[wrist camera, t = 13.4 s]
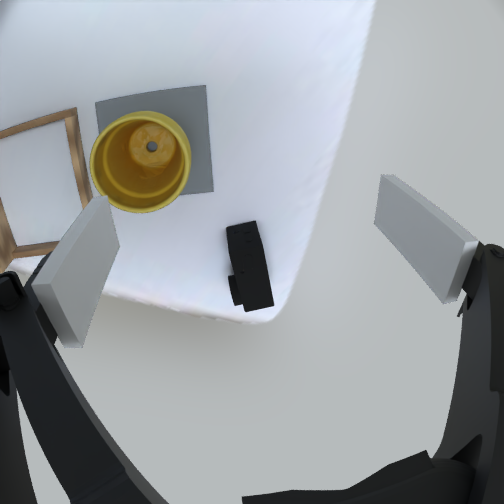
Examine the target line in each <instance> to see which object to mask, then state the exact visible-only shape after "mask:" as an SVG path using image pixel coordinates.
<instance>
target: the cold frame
mask: <svg viewBox="0 0 504 504" xmlns="http://www.w3.org/2000/svg"><path fill="white" fill-rule="evenodd" d="M61 119H65V125H66V131H67V137H68V143H69V148H70V154H71V159H72V164H73V169H74V173H75V178H76V182H77V187H78V191H79V195H80V199H81V203H82V207H83V209H84V208H85V207H86V206H87V204H88V203H89V202H90V201H91V199H92V198H93V196H92V192H91V188H90V183H89V179H88V174H87V169H86V164H85V159H84V153H83V148H82V142H81V136H80V130H79V123H78V116H77V109H76V107H75V108H72V109H68V110H64V111H61V112H57V113H54V114H50V115H47V116H44V117H40V118H37V119H34V120H31V121H28V122H25V123H22V124H19V125H17V126H14V127H11V128H8V129H6V130H3V131H0V139H2V138H4V137H7V136H10V135H13V134H16V133H19V132H21V131H24V130H27V129H31V128H34V127H37V126H40V125H43V124H47V123H50V122H54V121H57V120H61ZM59 242H60V241H56V242H48V243H41V244H34V245H27V246H20V247H17V246H16V243H15V240H14V238H13V235H12V232H11V229H10V227H9V224H8V221H7V218H6V215H5V212H4V208H3V205H2V202H1V199H0V273H3V272H4V271H5V269H6V268H7V267H8V265H9V264H10V263H11V262H12V260H13V259H14V258H22V257H31V256H39V255H47V254H48V253H49V252H51V251H53V250H54V249H55V248H56V246H57V245H58V243H59Z"/></svg>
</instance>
